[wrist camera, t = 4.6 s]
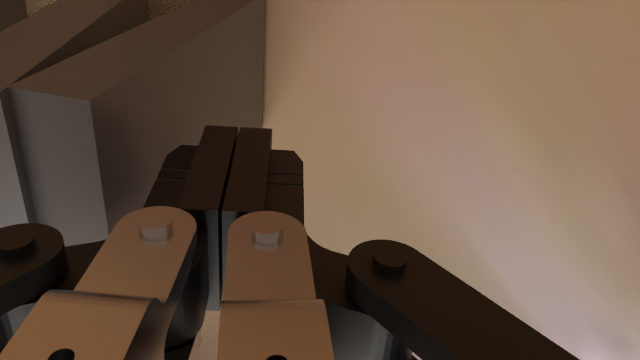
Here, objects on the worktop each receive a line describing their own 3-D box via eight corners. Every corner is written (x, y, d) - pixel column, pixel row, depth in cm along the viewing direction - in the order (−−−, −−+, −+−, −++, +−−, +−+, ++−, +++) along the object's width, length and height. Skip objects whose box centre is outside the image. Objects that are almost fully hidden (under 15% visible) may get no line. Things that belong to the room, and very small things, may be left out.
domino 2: (265, -6, 18) (89, 100, 9) (262, 133, 20) (120, 318, 12) (218, -12, 18) (5, 87, 10) (221, 126, 21) (53, 303, 12)
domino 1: (145, -17, 18) (-2, 93, 9) (156, 123, 20) (48, 312, 12) (95, -21, 18) (-100, 87, 9) (112, 120, 20) (-29, 310, 12)
